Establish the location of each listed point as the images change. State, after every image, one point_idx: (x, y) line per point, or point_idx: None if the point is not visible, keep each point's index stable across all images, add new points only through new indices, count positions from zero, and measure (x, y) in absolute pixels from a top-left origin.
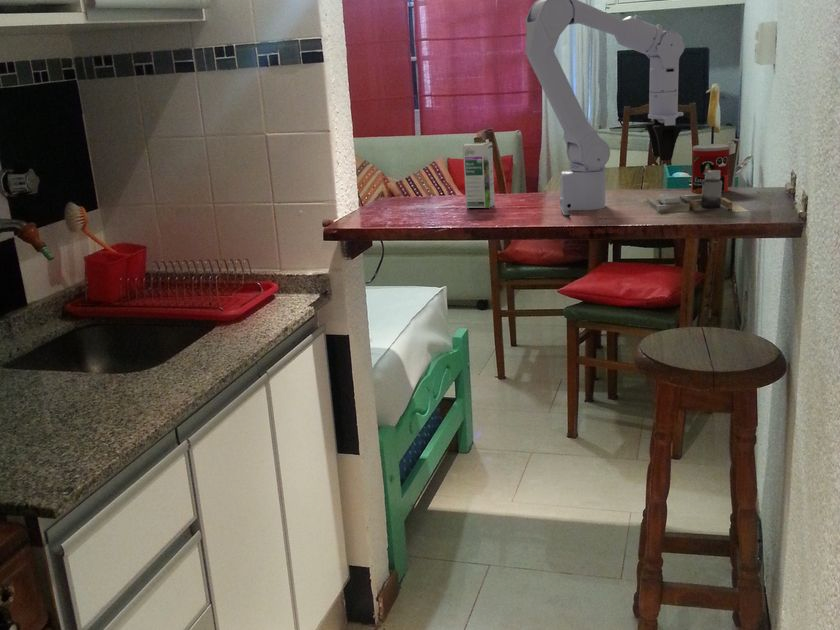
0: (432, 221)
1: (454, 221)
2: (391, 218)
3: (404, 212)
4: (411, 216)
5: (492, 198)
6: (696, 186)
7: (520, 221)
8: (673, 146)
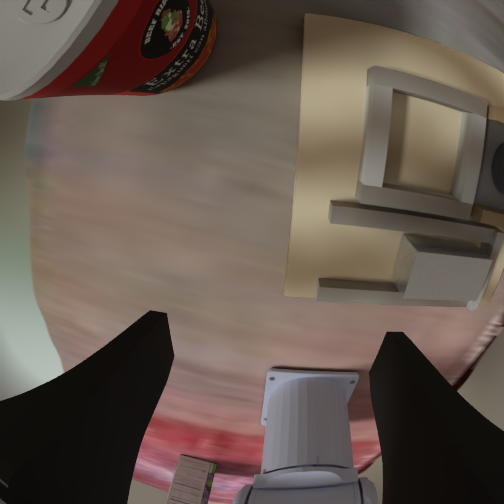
0: None
1: None
2: None
3: (215, 492)
4: None
5: (193, 468)
6: (171, 81)
7: None
8: (448, 390)
